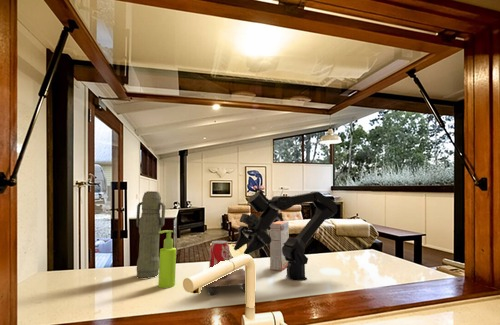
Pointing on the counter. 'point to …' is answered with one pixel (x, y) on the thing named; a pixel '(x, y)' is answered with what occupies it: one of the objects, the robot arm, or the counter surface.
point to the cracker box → (278, 245)
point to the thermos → (149, 234)
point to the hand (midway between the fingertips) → (239, 251)
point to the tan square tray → (228, 281)
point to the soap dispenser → (167, 262)
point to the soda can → (218, 252)
